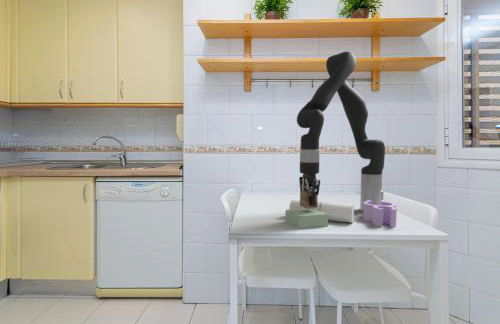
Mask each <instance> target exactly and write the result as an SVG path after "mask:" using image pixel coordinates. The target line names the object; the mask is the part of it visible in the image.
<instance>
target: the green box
mask: <svg viewBox="0 0 500 324" xmlns="http://www.w3.org/2000/svg"><path fill="white" fill-rule="evenodd" d="M284 215H285V216H284V217H285V218H284V219H285V222H286V223H288V224H289V225H292V226H293V227H295V228H297V229H299V230H302V229H303V230H304V229H311V228H313V229H314V228H323V227H326V228H327V227H328V226H329V220H328V214H326V213H324V212H321V211H318V210H315V209H291V210H289V209H285V214H284Z"/></svg>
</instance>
